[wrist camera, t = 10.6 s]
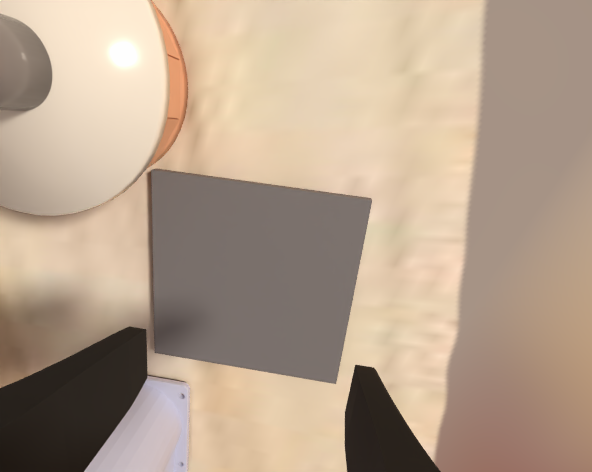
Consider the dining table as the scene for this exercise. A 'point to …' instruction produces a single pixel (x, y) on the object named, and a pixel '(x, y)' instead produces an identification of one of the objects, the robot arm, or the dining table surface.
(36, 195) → the lid
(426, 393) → the dining table surface
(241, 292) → the mat
